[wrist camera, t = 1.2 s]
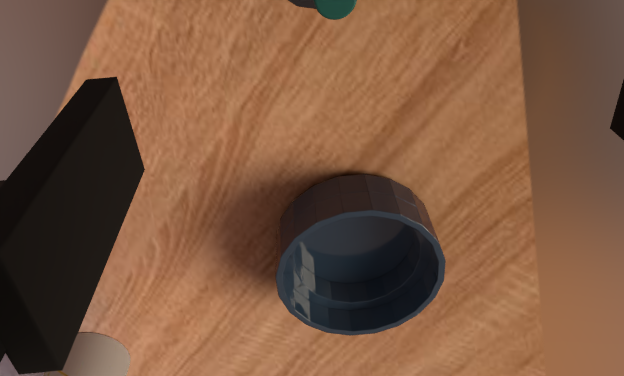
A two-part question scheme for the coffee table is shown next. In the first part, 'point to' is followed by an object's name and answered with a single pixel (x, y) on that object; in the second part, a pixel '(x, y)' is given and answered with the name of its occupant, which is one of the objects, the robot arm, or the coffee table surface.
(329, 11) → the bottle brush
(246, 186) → the coffee table surface
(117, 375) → the beige cylinder
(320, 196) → the bowl
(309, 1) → the brush pot
